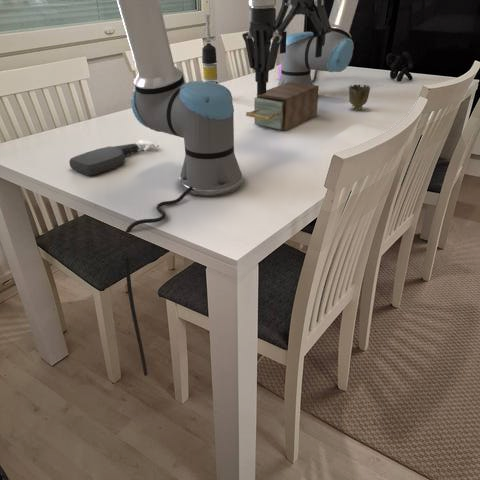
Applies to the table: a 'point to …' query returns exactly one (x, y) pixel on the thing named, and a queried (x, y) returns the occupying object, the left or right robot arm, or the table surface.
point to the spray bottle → (106, 157)
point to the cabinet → (295, 102)
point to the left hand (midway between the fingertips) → (261, 93)
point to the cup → (358, 96)
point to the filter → (209, 57)
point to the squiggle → (399, 66)
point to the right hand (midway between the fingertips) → (300, 55)
